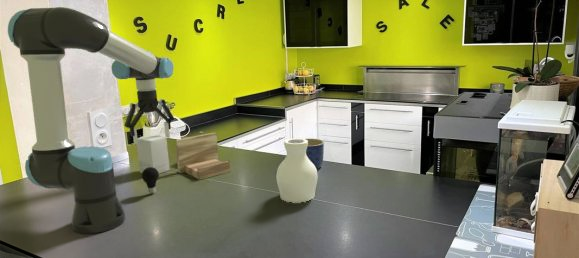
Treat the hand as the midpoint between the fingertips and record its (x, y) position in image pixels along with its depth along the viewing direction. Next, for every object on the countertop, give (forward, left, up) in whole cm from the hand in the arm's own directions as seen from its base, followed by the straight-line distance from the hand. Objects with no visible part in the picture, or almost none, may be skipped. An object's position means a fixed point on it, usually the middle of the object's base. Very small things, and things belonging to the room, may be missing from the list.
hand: (152, 140), depth 180 cm
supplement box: (0, 0, -14) cm, 14 cm away
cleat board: (-16, -16, -14) cm, 26 cm away
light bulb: (-25, +11, -14) cm, 31 cm away
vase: (-63, -26, -14) cm, 70 cm away
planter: (-41, -51, -14) cm, 67 cm away
